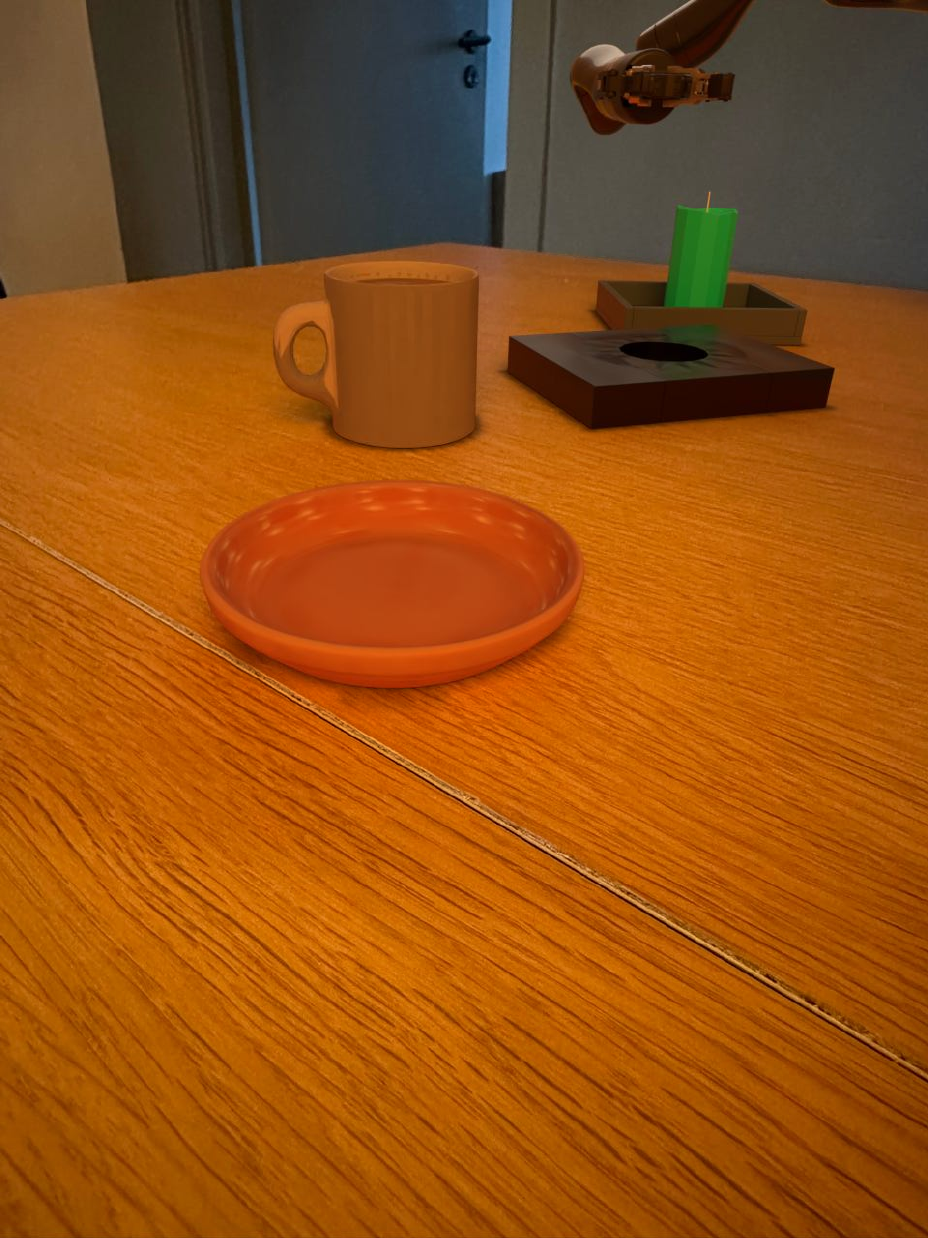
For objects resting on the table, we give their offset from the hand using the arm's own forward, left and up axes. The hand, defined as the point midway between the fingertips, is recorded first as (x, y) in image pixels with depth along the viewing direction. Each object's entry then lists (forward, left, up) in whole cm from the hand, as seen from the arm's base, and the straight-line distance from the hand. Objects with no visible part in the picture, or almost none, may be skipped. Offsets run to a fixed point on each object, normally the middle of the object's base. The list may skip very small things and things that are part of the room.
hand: (686, 84), depth 89 cm
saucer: (+28, +71, -22) cm, 80 cm away
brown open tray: (-1, +11, -22) cm, 25 cm away
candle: (-1, +11, -21) cm, 24 cm away
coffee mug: (+30, +45, -22) cm, 59 cm away
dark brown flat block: (+8, +35, -22) cm, 42 cm away
